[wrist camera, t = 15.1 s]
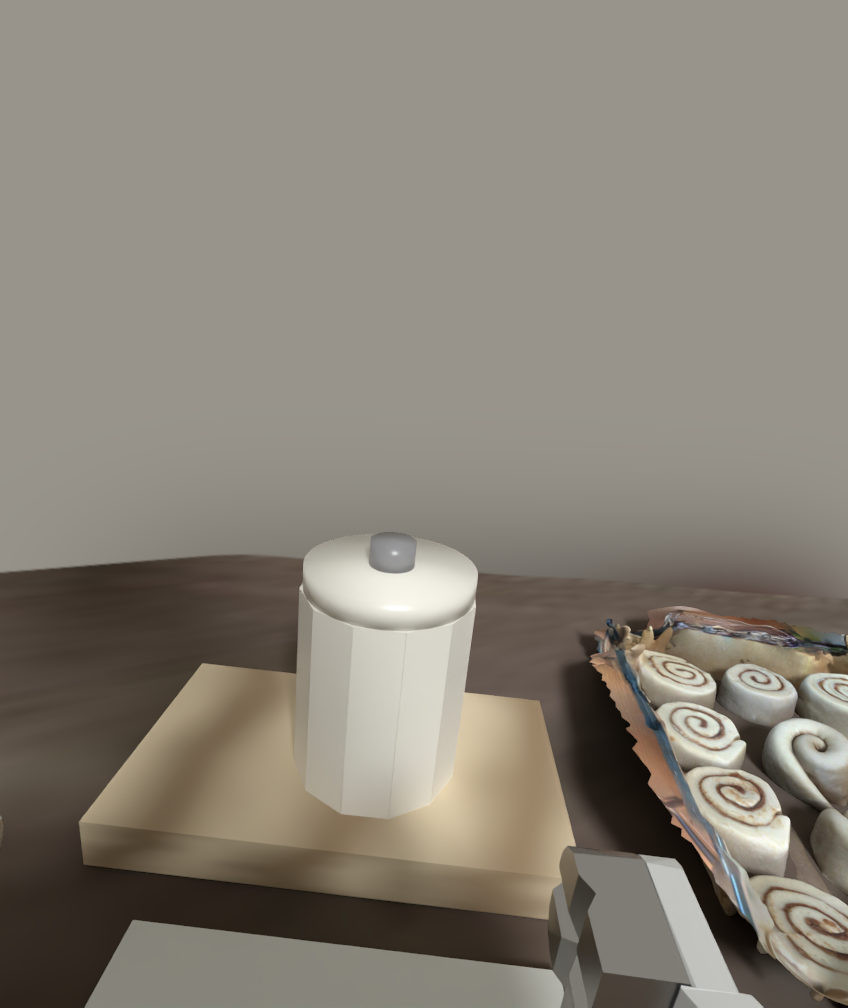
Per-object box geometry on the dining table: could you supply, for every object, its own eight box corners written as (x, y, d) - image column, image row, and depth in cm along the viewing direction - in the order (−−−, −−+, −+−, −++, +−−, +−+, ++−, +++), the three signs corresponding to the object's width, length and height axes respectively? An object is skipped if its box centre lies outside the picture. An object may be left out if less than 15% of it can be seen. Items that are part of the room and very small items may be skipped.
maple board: (83, 864, 20) (79, 821, 19) (202, 695, 29) (202, 663, 29) (574, 922, 20) (584, 880, 19) (533, 732, 29) (539, 700, 29)
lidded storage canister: (276, 807, 21) (281, 565, 18) (317, 695, 27) (325, 506, 24) (453, 826, 21) (487, 587, 18) (451, 710, 27) (476, 521, 24)
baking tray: (545, 628, 42) (556, 563, 40) (834, 659, 41) (855, 594, 39) (726, 1237, 13) (786, 1088, 12) (1721, 1394, 12) (1926, 1252, 11)
